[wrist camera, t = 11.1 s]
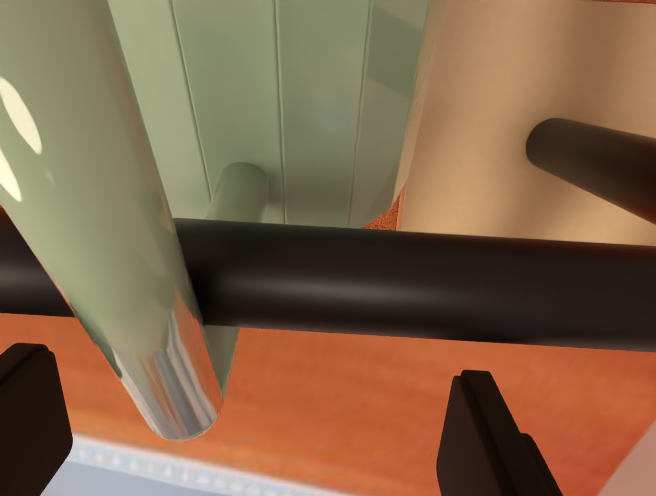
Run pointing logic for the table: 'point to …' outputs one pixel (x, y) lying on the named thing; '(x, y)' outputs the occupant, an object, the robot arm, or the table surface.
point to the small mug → (195, 155)
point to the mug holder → (466, 202)
